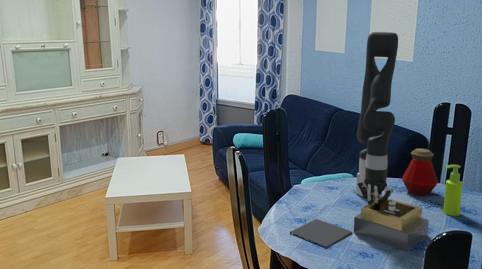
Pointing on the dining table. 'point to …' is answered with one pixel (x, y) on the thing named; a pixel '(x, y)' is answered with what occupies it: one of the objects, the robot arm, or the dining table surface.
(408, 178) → the bottle
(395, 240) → the translucent grey knobbed box
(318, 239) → the black mat
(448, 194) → the soap dispenser
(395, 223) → the wooden tray
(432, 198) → the dining table surface
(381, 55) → the robot arm
